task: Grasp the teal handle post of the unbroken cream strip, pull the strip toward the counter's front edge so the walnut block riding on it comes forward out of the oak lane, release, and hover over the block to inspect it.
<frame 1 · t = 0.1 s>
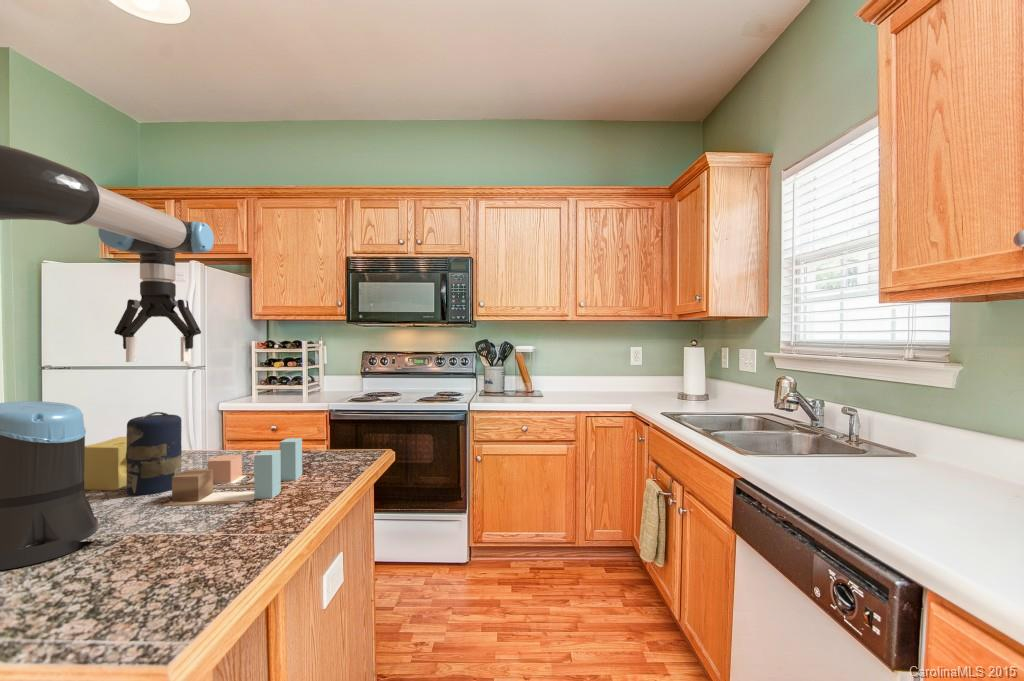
hand: (158, 361, 122), 28 cm above the counter, fingers open, 13 cm apart
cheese: (118, 484, 108), on the counter
lane frame: (229, 493, 100), on the counter
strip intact: (227, 477, 94), point 5 cm above the counter, slide at 0.0 cm, touching block walnut
block clay: (225, 479, 106), point 1 cm above the counter, touching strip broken
block walnut: (193, 497, 94), point 1 cm above the counter, touching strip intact
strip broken: (247, 485, 106), on the counter
canister: (155, 495, 100), on the counter
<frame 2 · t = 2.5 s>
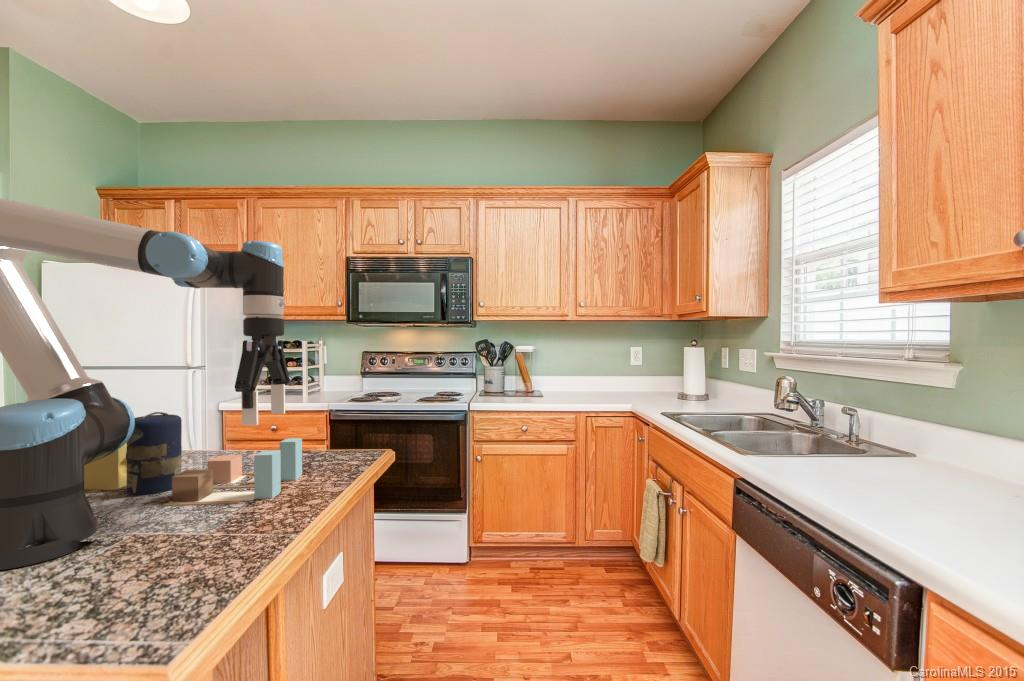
hand: (265, 419, 96), 17 cm above the counter, fingers open, 13 cm apart
nothing on the counter moved.
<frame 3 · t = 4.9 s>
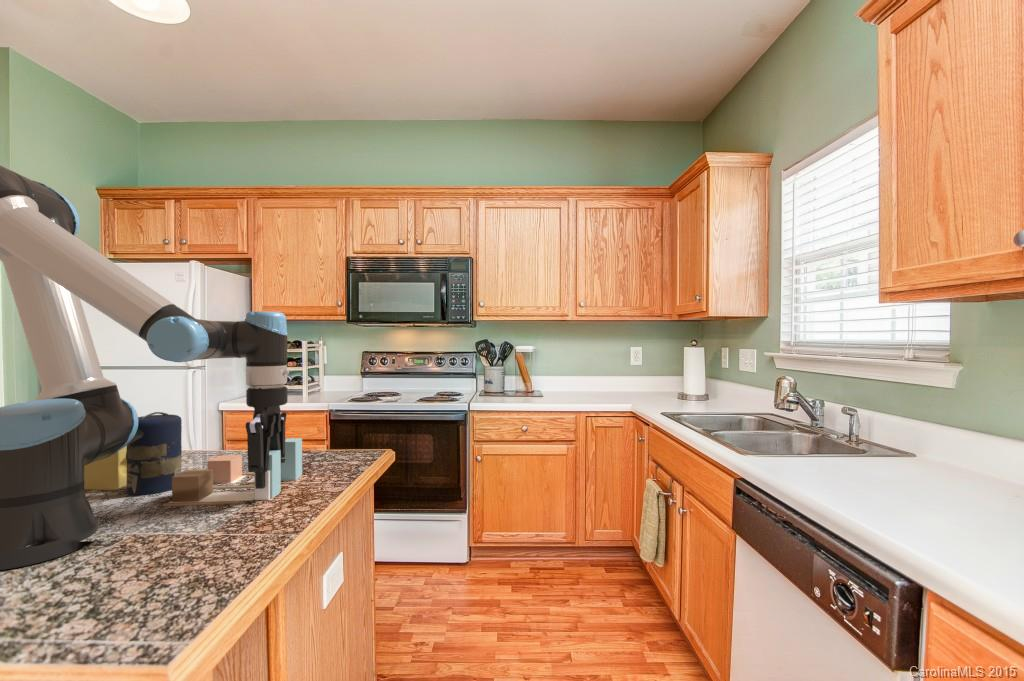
hand: (267, 498, 95), 1 cm above the counter, fingers closed on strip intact, 4 cm apart
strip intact: (227, 477, 94), point 5 cm above the counter, slide at 0.0 cm, touching block walnut, gripper
everything else where it was.
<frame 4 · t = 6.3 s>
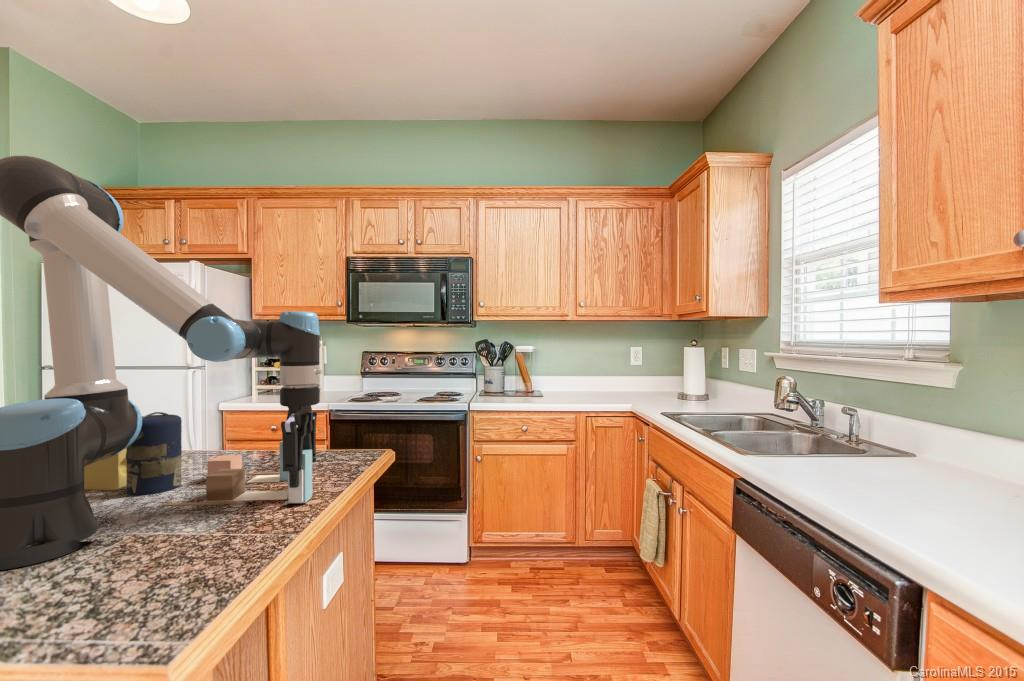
hand: (300, 497, 95), 1 cm above the counter, fingers closed on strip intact, 4 cm apart
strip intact: (260, 477, 95), point 5 cm above the counter, slide at 6.5 cm, touching block walnut, gripper
block walnut: (226, 496, 94), point 1 cm above the counter, touching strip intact
everything else where it was.
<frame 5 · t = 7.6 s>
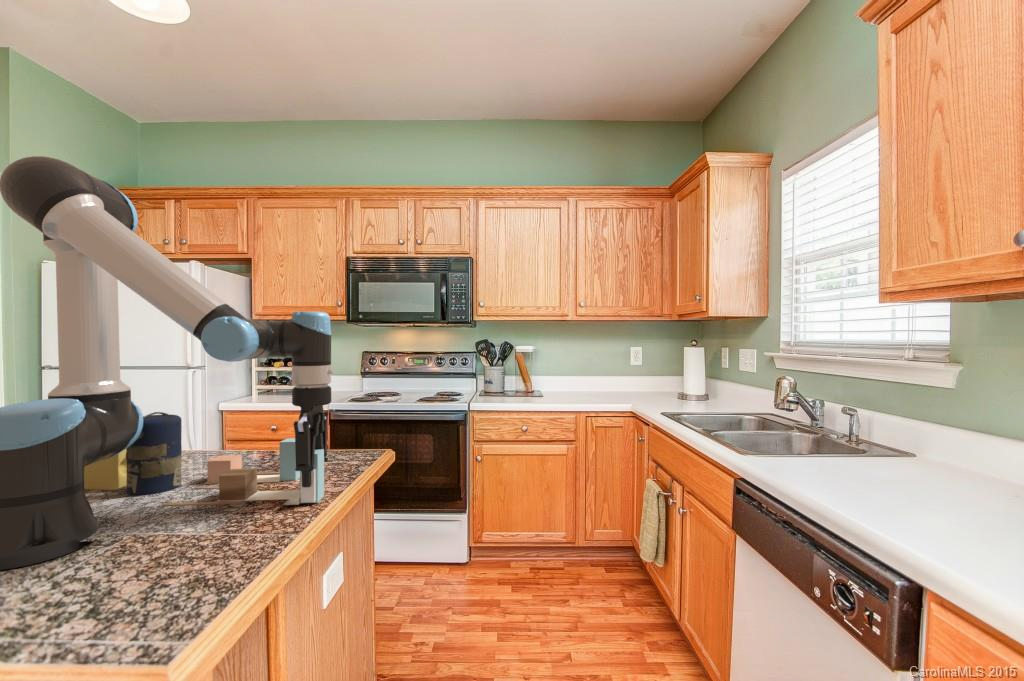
hand: (312, 497, 96), 1 cm above the counter, fingers closed on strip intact, 4 cm apart
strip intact: (272, 476, 95), point 5 cm above the counter, slide at 9.0 cm, touching block walnut, gripper
block walnut: (238, 496, 94), point 1 cm above the counter, touching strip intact
everything else where it was.
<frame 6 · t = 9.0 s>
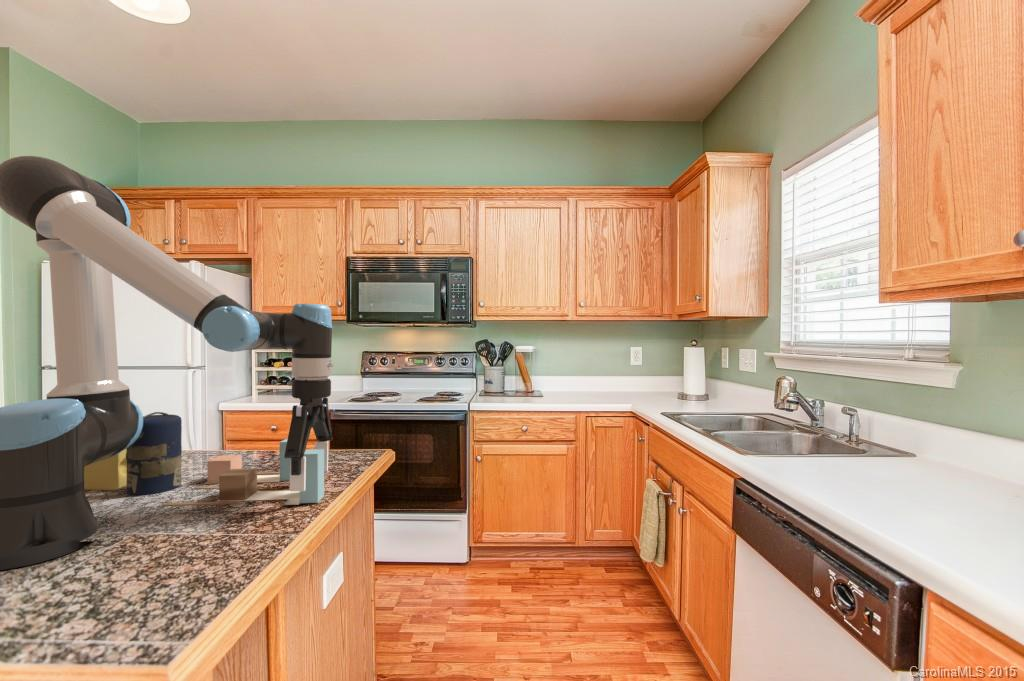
hand: (310, 480, 95), 4 cm above the counter, fingers open, 13 cm apart
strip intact: (272, 476, 95), point 5 cm above the counter, slide at 9.0 cm, touching block walnut
everything else where it was.
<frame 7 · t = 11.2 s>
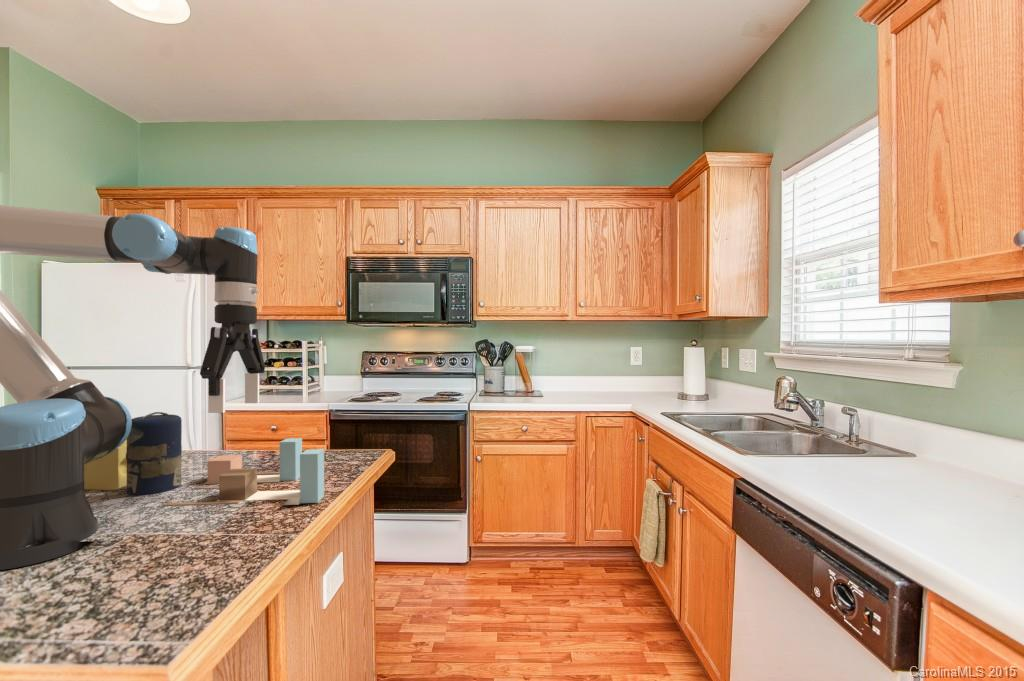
hand: (235, 407, 95), 20 cm above the counter, fingers open, 13 cm apart
nothing on the counter moved.
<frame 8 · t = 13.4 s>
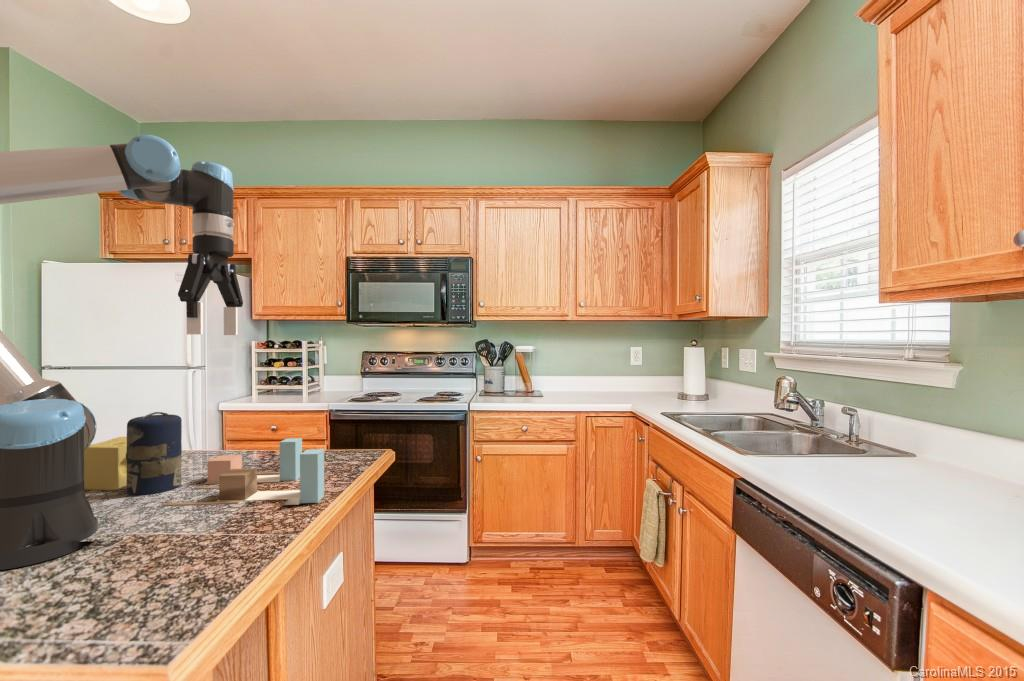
hand: (214, 335, 100), 35 cm above the counter, fingers open, 13 cm apart
nothing on the counter moved.
at the end: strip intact slide at 9.0 cm; block walnut inside the target area (0.5 cm from its centre), point 1.4 cm above the counter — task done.
